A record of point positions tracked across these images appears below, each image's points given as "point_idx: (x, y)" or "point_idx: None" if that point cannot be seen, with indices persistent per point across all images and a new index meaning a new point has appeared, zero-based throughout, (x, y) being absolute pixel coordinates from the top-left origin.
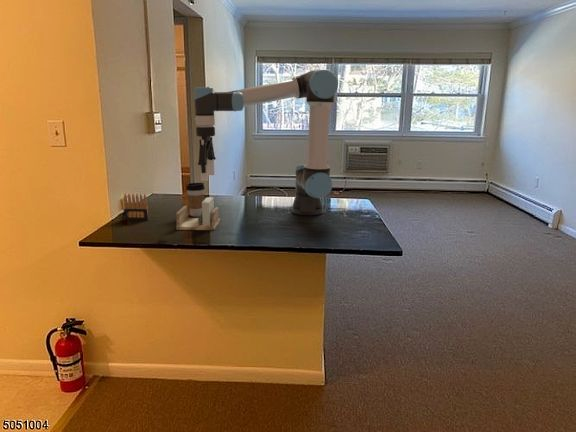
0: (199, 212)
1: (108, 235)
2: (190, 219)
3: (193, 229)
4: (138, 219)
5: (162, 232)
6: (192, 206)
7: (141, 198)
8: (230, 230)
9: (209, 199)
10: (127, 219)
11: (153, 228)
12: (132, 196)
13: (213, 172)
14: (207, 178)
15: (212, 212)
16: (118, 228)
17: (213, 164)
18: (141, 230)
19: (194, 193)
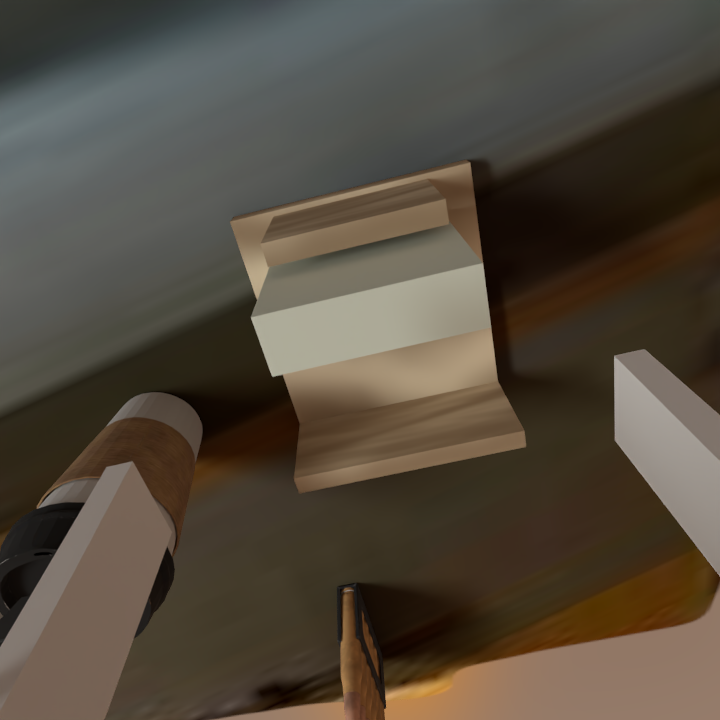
0: (176, 411)
1: (621, 594)
2: (327, 396)
3: None
4: (368, 616)
5: (555, 429)
6: (193, 471)
7: (363, 716)
8: (450, 25)
9: (349, 315)
10: (379, 649)
11: (492, 498)
12: None
13: (120, 497)
14: (666, 369)
15: (446, 214)
16: (516, 613)
17: (51, 616)
18: (533, 526)
19: None
